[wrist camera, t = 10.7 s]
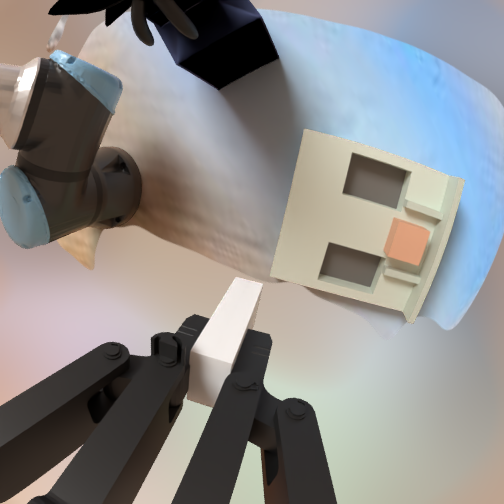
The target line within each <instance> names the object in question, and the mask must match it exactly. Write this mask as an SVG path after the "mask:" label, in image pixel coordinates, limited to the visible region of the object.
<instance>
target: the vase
mask: <svg viewBox="0 0 504 504" xmlns="http://www.w3.org/2000/svg"><path fill="white" fill-rule="evenodd" d="M130 7H131V21H132V25H133V29H134V31H135V34H136V36H137V37H138V38H139V39H140V41H142V42H143V43H144V44H146V45H148V46H152V45H154V38H153V36H152V33H151V31H150V29H149V27H148V24H147V21H146V18H147V19H148V20H149V21H151V22H152V23H154V25H155V27H156V29H157V30H158V32H159V34H160V36H161V38H162V39H163V41H164V43H165V45H166V47H167V48H168V50H169V52H170V54H171V56H172V58H173V59H174V61H175V63H176V65H178V66H180V67H181V68H183V69H185V70H187V71H188V72H190V73H192V74H193V75H195V76H197V77H198V78H200V79H201V80H203V81H205V82H206V83H208V84H209V85H211V86H213V87H214V88H216V89H217V90H220V89H222V88H223V87H225V86H227V85H229V84H230V83H232V82H234V81H236V80H238V79H239V78H241V77H243V76H245V75H247V74H249V73H251V72H253V71H254V70H256V69H258V68H260V67H262V66H264V65H266V64H268V63H271V62H273V61H275V60H277V59H279V55H278V53H277V51H276V48H275V46H274V43H273V41H272V39H271V36H270V34H269V32H268V30H267V27H266V25H265V23H264V21H263V19H262V16H261V15H260V14H259V12H258V11H257V10H256V8H255V7H254V6H253V5H252V3H251V2H250V1H249V0H58V2H56V3H55V4H54V5H53V7H52V8H51V9H50V11H49V13H48V14H49V15H77V14H89V13H94V12H99V11H102V10H105V9H106V14H105V16H106V17H105V18H106V19H105V25H106V27H108V26H109V25H111V24H112V23H113V22H114V21H115V20H116V19H117V18H118V17H119V16H121V15H122V14H123V13H124V12H125V11H126V10H128V9H129V8H130Z"/></svg>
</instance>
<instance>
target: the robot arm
mask: <svg viewBox="0 0 504 504" xmlns="http://www.w3.org/2000/svg"><path fill="white" fill-rule="evenodd" d="M122 90H123V85H122V82H121V81H120V79H119V78H117V77H116V76H114V75H112V74H110V73H108V72H106V71H104V70H102V69H100V68H98V67H96V66H94V65H92V64H90V63H88V62H86V61H83V60H81V59H79V58H76V57H74V56H72V55H70V54H68V53H65V52H63V51H60V50H56V51H54V53H53V54H51V55H50V59H45V58H40V57H37V58H35V59H33V60H32V61H30V62H28V63H27V64H25V65H24V66H15V65H8V64H2V63H0V136H1V137H2V138H3V140H4V142H5V143H6V145H7V146H8V148H9V149H15V150H19V152H18V157H17V161H16V165H15V166H14V165H11V166H8V168H6V169H4V170H3V172H2V173H1V174H0V217H1V220H2V223H3V225H4V228H5V230H6V232H7V233H8V235H9V237H10V238H11V239H12V240H13V241H14V242H15V243H16V244H17V245H18V246H20V247H22V248H25V249H30V248H33V247H37V246H40V245H46V244H48V243H50V242H52V241H54V240H57V239H59V238H61V237H64V236H66V235H69V234H71V233H73V232H76V231H78V230H81V229H83V228H86V227H94V228H103V229H108V228H114V227H117V226H119V225H122V224H124V223H126V222H127V221H128V220H129V219H130V218H131V217H132V216H133V215H134V213H135V212H136V210H137V207H138V205H139V202H140V197H141V178H140V173H139V170H138V168H137V165H136V163H135V162H134V160H133V159H132V157H131V156H130V155H129V154H128V153H127V152H125V151H124V150H122V149H120V148H117V147H101V148H99V147H100V144H101V142H102V139H103V137H104V134H105V132H106V129H107V127H108V125H109V122H110V120H111V118H112V116H113V115H114V114H115V108H116V105H117V103H118V100H119V98H120V96H121V93H122ZM262 287H263V284H262V283H258V282H254V281H250V280H246V279H243V278H239V277H236V278H235V279H234V281H233V282H232V284H231V286H230V287H229V289H228V291H227V292H226V294H225V295H224V297H223V299H222V300H221V302H220V304H219V305H218V307H217V308H216V310H215V312H214V313H213V315H212V316H211V318H210V319H209V318H205V317H202V316H199V315H196V314H194V315H192V316H190V317H188V318H186V320H185V321H184V322H183V324H182V325H181V327H180V328H179V330H178V331H177V332H176V333H175V334H174V333H169V332H164V333H163V332H162V333H158V334H155V335H154V336H153V337H151V356H147V357H145V356H136V355H130V354H129V351H128V349H127V348H126V347H125V346H124V345H122V344H120V343H116V342H107V343H104V344H102V345H100V346H98V347H97V348H95V349H93V350H92V351H90V352H89V353H87V354H85V355H84V356H82V357H80V358H79V359H77V360H75V361H74V362H72V363H71V364H69V365H67V366H65V367H64V368H62V369H61V370H59V371H57V372H56V373H54V374H52V375H51V376H49V377H47V378H46V379H44V380H42V381H41V382H39V383H38V384H36V385H34V386H33V387H31V388H29V389H28V390H26V391H24V392H23V393H21V394H20V395H18V396H16V397H15V398H13V399H11V400H10V401H8V402H6V403H5V404H3V405H1V406H0V503H3V502H5V501H7V500H8V499H10V498H12V497H13V496H15V495H16V494H17V493H19V492H20V491H22V490H23V489H25V488H26V487H27V486H29V485H30V484H31V483H33V482H34V481H35V480H37V479H38V478H40V477H41V476H42V475H44V474H45V473H46V472H47V471H49V470H50V469H51V468H53V467H54V466H56V465H57V464H58V463H60V462H61V461H62V460H63V459H65V458H66V457H67V456H69V455H70V454H71V453H73V452H74V451H75V450H76V449H78V448H79V447H80V446H82V445H83V446H82V447H81V449H80V450H79V451H78V453H77V454H76V455H75V457H74V458H73V459H72V461H71V462H70V464H69V465H68V466H67V468H66V469H65V470H64V472H63V473H62V475H61V476H60V477H59V479H58V480H57V482H56V483H55V484H54V486H53V487H52V489H51V490H50V491H49V492H48V493H47V494H46V495H43V496H37V497H34V498H33V499H31V500H30V501H29V502H28V503H27V504H132V503H133V501H134V499H135V497H136V495H137V493H138V492H139V490H140V488H141V486H142V484H143V482H144V480H145V478H146V477H147V475H148V473H149V471H150V469H151V467H152V465H153V463H154V461H155V459H156V458H157V456H158V454H159V452H160V450H161V448H162V446H163V444H164V442H165V440H166V439H167V437H168V435H169V433H170V431H171V429H172V427H173V425H174V423H175V421H176V419H177V417H178V416H179V413H180V411H181V410H182V406H183V399H184V397H185V395H186V393H187V399H188V400H191V401H194V402H197V403H200V404H203V405H206V406H209V407H212V408H213V409H212V412H211V414H210V416H209V419H208V421H207V423H206V426H205V428H204V431H203V433H202V435H201V438H200V440H199V442H198V444H197V447H196V449H195V451H194V454H193V456H192V458H191V460H190V463H189V465H188V467H187V470H186V472H185V474H184V476H183V479H182V481H181V483H180V485H179V488H178V490H177V492H176V494H175V497H174V499H173V501H172V503H171V504H229V503H230V499H231V496H232V493H233V490H234V487H235V483H236V480H237V477H238V473H239V470H240V466H241V463H242V459H243V456H244V453H245V449H246V445H247V442H248V441H249V442H251V443H253V444H255V445H257V446H258V447H260V448H261V460H262V472H263V473H262V474H263V486H264V498H265V504H337V501H336V497H335V493H334V488H333V484H332V480H331V476H330V471H329V467H328V463H327V459H326V455H325V451H324V447H323V443H322V439H321V435H320V430H319V426H318V422H317V418H316V414H315V411H314V409H313V407H312V406H311V405H310V404H309V403H308V402H306V401H304V400H302V399H297V398H288V399H285V400H283V401H281V400H279V399H277V398H275V397H274V396H272V395H270V394H269V393H268V392H267V390H266V389H265V387H264V384H263V379H264V374H265V371H266V367H267V363H268V359H269V355H270V350H271V346H272V340H271V337H270V334H266V333H262V332H258V331H255V330H252V328H253V326H254V322H255V318H256V313H257V309H258V305H259V300H260V296H261V292H262Z"/></svg>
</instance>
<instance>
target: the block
mask: <svg viewBox="0 0 504 504" xmlns="http://www.w3.org/2000/svg"><path fill="white" fill-rule="evenodd" d="M429 235H430V231H428V230H427V229H426V228H424V227H422V226H419V225H416V224H413V223H410V222H407V221H404V220H401V219H398V218H395V217H394V218H393V221H392V224H391V228H390V231H389V234H388V237H387V240H386V243H385V246H384V249H383V250H384V252H385V253H386V255H387V256H388V257H391V258H394V259H398V260H401V261H404V262H408V263H411V264H414V265H417V266H419V263H420V261H421V258H422V255H423V253H424V250H425V247H426V244H427V241H428V238H429Z"/></svg>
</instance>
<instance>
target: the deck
mask: <svg viewBox="0 0 504 504" xmlns="http://www.w3.org/2000/svg"><path fill="white" fill-rule="evenodd" d="M464 182H465V180H464V179H462V178H460V177H454V176H449V175H446V174H444V173H442V172H439V171H437V170H434V169H432V168H429V167H427V166H424V165H422V164H419V163H417V162H414V161H411V160H409V159H406V158H403V157H400V156H397V155H395V154H392V153H389V152H386V151H383V150H380V149H377V148H374V147H370V146H367V145H364V144H361V143H357V142H354V141H351V140H347V139H343V138H340V137H336V136H332V135H329V134H325V133H321V132H317V131H313V130H309V129H304V132H303V136H302V141H301V145H300V150H299V154H298V159H297V163H296V168H295V172H294V176H293V181H292V185H291V189H290V194H289V198H288V202H287V206H286V211H285V215H284V219H283V223H282V227H281V231H280V236H279V240H278V244H277V248H276V252H275V256H274V260H273V264H272V268H271V272H270V277H274V278H277V279H281V280H285V281H288V282H292V283H296V284H299V285H303V286H307V287H310V288H314V289H318V290H321V291H325V292H329V293H333V294H337V295H340V296H344V297H348V298H352V299H356V300H359V301H363V302H367V303H371V304H375V305H379V306H383V307H387V308H391V309H394V310H398V311H402V312H403V314H404V316H405V318H406V320H407V322H408V323H411V324H413V323H414V321H415V319H416V317H417V315H418V313H419V311H420V309H421V307H422V304H423V302H424V300H425V298H426V295H427V293H428V291H429V288H430V286H431V284H432V281H433V279H434V276H435V274H436V271H437V269H438V266H439V264H440V261H441V258H442V255H443V253H444V250H445V247H446V244H447V241H448V238H449V235H450V232H451V229H452V226H453V223H454V219H455V216H456V213H457V209H458V205H459V202H460V198H461V194H462V190H463V186H464ZM394 217H395V218H398V219H401V220H404V221H407V222H410V223H413V224H416V225H419V226H422V227H424V228H426V229H427V230H428V231H430V235H429V238H428V241H427V244H426V247H425V250H424V253H423V255H422V258H421V261H420V263H419V266H417V265H414V264H411V263H408V262H404V261H401V260H398V259H394V258H391V257H388V256H387V255H386V253H385V252H384V250H383V249H384V246H385V243H386V240H387V237H388V234H389V231H390V228H391V224H392V221H393V218H394Z"/></svg>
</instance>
